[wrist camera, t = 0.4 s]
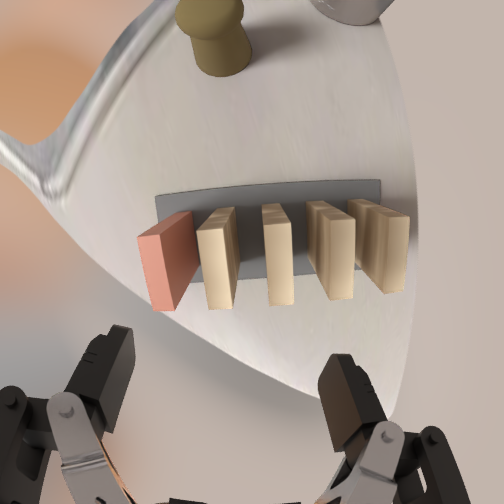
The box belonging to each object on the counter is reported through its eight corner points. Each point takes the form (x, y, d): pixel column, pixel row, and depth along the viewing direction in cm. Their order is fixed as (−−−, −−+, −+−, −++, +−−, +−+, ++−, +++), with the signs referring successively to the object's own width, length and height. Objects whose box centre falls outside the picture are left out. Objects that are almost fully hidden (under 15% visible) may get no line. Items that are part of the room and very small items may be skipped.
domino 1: (191, 210, 28) (159, 234, 18) (199, 265, 30) (174, 310, 20) (175, 212, 28) (136, 236, 18) (183, 266, 30) (153, 311, 20)
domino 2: (234, 206, 28) (222, 228, 18) (240, 262, 30) (232, 308, 20) (217, 208, 28) (196, 230, 18) (223, 263, 30) (208, 309, 20)
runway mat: (378, 179, 27) (379, 180, 26) (376, 266, 30) (377, 267, 29) (155, 196, 28) (154, 196, 27) (170, 282, 31) (169, 283, 30)
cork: (264, 53, 23) (267, -1, 12) (220, 87, 24) (199, 46, 14) (225, 22, 22) (211, -34, 11) (183, 55, 23) (148, 8, 13)
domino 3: (279, 203, 28) (290, 223, 18) (282, 259, 29) (293, 304, 20) (261, 204, 28) (263, 225, 18) (265, 260, 29) (269, 306, 20)
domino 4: (322, 200, 27) (355, 219, 18) (323, 255, 29) (352, 298, 20) (305, 201, 27) (330, 220, 18) (307, 257, 29) (329, 300, 20)
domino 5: (362, 198, 27) (409, 216, 18) (362, 252, 29) (403, 291, 19) (347, 199, 27) (389, 217, 18) (347, 254, 29) (383, 293, 19)
